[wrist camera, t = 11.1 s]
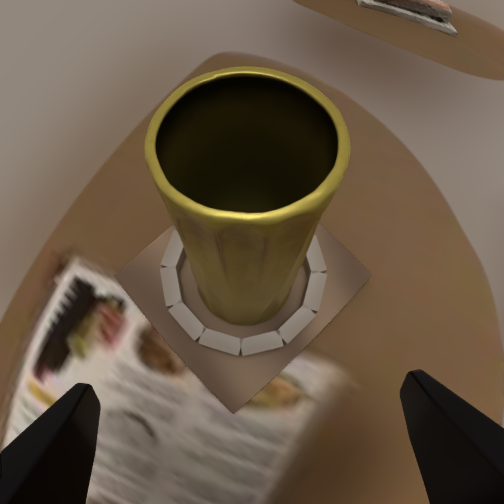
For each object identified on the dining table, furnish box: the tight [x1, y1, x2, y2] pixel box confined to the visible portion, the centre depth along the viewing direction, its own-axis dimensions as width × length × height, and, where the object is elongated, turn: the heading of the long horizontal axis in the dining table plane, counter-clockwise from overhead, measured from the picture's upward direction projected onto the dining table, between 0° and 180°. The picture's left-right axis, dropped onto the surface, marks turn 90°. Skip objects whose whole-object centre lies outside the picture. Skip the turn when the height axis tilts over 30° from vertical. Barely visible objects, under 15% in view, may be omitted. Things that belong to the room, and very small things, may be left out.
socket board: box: [114, 223, 372, 414], centre depth 21 cm, size 13×12×2 cm
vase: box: [144, 66, 351, 325], centre depth 14 cm, size 6×6×14 cm
